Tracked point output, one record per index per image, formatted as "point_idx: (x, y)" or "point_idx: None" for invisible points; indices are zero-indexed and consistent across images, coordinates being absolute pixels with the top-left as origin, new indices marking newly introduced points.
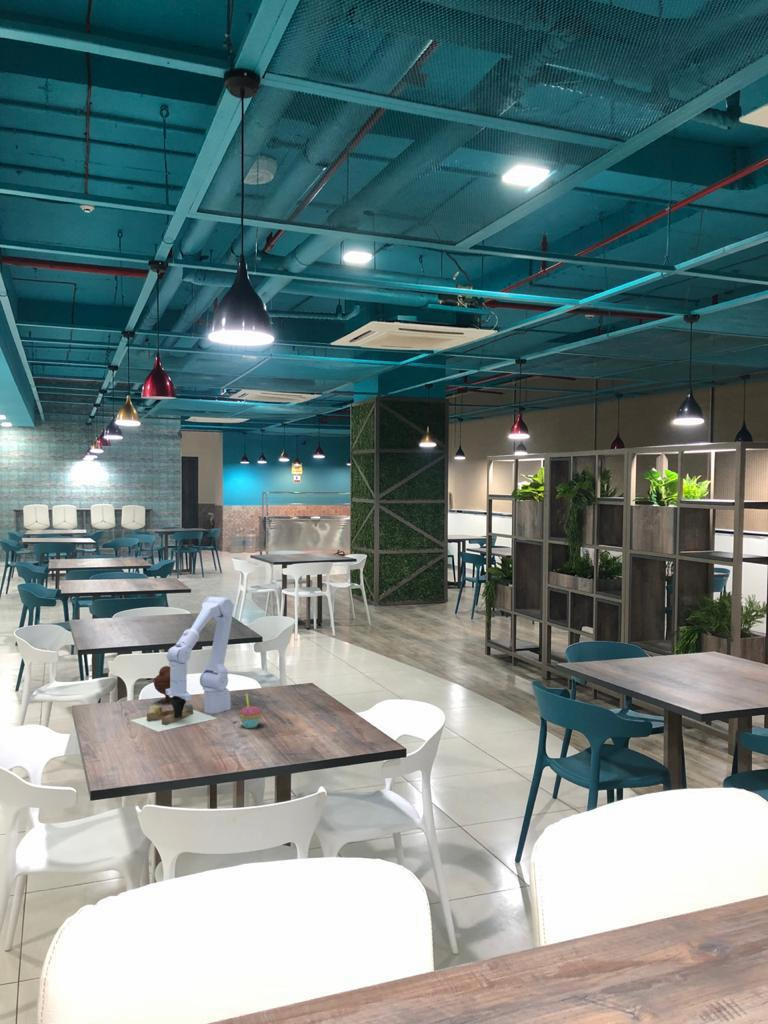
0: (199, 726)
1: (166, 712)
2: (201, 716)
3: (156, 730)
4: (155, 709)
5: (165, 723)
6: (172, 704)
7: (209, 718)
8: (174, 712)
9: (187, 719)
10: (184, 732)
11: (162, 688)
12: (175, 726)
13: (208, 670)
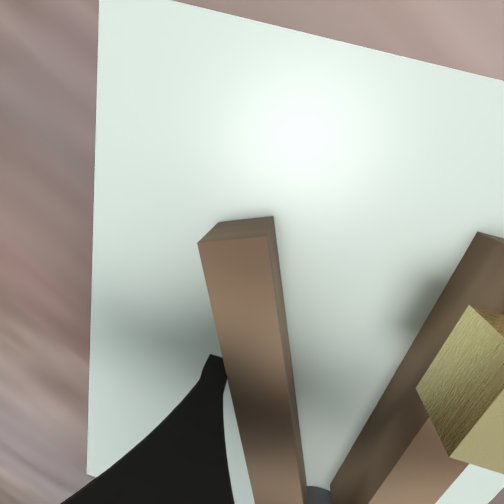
0: (77, 351)
1: (406, 430)
2: None
3: (145, 8)
4: (502, 358)
5: (224, 224)
6: (201, 498)
7: (115, 461)
8: (214, 393)
9: None
10: (18, 198)
11: None
12: (121, 232)
13: None
